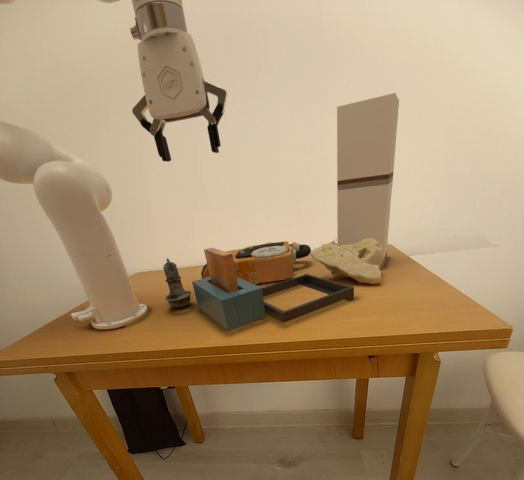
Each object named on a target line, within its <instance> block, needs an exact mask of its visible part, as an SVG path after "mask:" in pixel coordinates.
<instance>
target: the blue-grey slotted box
mask: <svg viewBox="0 0 524 480" xmlns="http://www.w3.org/2000/svg"><path fill="white" fill-rule="evenodd" d="M237 282H238V288H239V290H237V291H234V292H231V293H227V292H225V291H224V290H222V289H220V288H218V287H216V286H215V285H213V284H212V283H211V279H210V277H207V278H203V279H202V278H201V279H197V280H193V281H191V283H192V287H193V291H194V296H195V300H196V302H197V306H198V308H199V309H200V310H201V311H202V312H203V313H205V314H206V315H207V316H208V317H210V319H212V320H213V321H214V322H216V323H217V324H218V325H220V326H221V327H222V328H223V329H224V330H226V331H227V332H230V331H233V330H235V329H238V328H241V327H244V326H246V325H249V324H252V323H255V322H258V321H260V320H262V319H266V318H267V316H266V313H265V308H264V302H265V301H264V297H263V294H262V288H263V287H261V286H258V284H255V285H254V284H252V283H250V282H247V281H245V280H243V279H240V278H238V277H237Z"/></svg>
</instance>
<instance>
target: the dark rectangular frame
mask: <svg viewBox="0 0 524 480" xmlns="http://www.w3.org/2000/svg"><path fill="white" fill-rule="evenodd" d="M297 286H303V287H306V288H309V289H312V290H314V291H318V292H320V293H323V294H326V295H324V296H321V297H319V298H316V299H313V300H310V301H307V302H305V303H302V304H299V305H297V306H295V307H291V308H288V309H285V310H283V309H281V308H278V307H276V306H275V305H272V304H271V303H268V302H266V301H264V308H265V314H267V315H269V316H270V317H272V318H274V319H275V320H277V321H279V322H281V323H286V322H289V321H292V320H294V319H297V318H299V317H303V316H306V315H308V314H311V313H313V312H315V311H318V310H320V309H323V308H325V307H328V306H330V305H331V306H332V305H334V304H336V303H338V302H342V301H343V300H344V301H347V302H350V301H352V300H354V299H355V287H354V286H351V285H348V284H344V283H341V282H337V281H334V280H331V279H327V278H324V277H319V276H316V275H313V274H310V273H304V274H302V275H298V276H295V277H291V278H289V279H286V280H281V281H278V282H277V283H273V284H270V285H267V286H264V287H261V288H262V294H263V298H264V297H267V296H271V295H274V294H277V293H280V292H282V291H285V290H289V289H291V288H295V287H297Z"/></svg>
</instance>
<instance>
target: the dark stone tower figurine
mask: <svg viewBox="0 0 524 480" xmlns="http://www.w3.org/2000/svg"><path fill="white" fill-rule="evenodd" d="M162 268H163V271H164V275H165V278H166V279H165V282H166V283H167V286H168V289H169V294H167V295H166V296H165V298H164V299H165V301H167V303H168V304H169V305H170V306H171V307H172V308H176V309H178V310H181V309H185V308H186V307H187V305H189V303H190V302H191V298H192V297H191V295H192V292H191V291H189V290H185V288H184V286H183V283H182V280H181V279H182V276H180V274H179V270H178V266H177V264H176V263H175V262H173V261H170V259H169V258H168V257H167V258H166V263H164V264H163V267H162Z"/></svg>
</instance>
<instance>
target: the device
mask: <svg viewBox="0 0 524 480" xmlns="http://www.w3.org/2000/svg"><path fill="white" fill-rule="evenodd" d="M225 252H228V253H232V254H233V260H234V266H235V271H236V277H238V278H240V279H243V280H245V281H247V282H250V283H252V284H254V285H259V284H263V283H264V284H265V283H275V282H277V283H278V282H282V281H286V280H289V279H292V278H294V267H293V266H294V265H295V262H296V261H297V259H298V260H299V259H303V258H307V257H309V255H310V253H311V252H312V249H311V247H310V246H309V245H308V244H300V243H299V242H297V241H292V242H291V243H289V241H288V240H285V241H278V242H277V241H275V242H266V243H262V244H256V245H250V246H247V247H243V248H239V249H238V248H237V249H231V250H225ZM200 274H201V279H203V278H207V277H210V274H209V270H208V266H207V263H205V264H204V265H203V266H202V270H201V272H200Z"/></svg>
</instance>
